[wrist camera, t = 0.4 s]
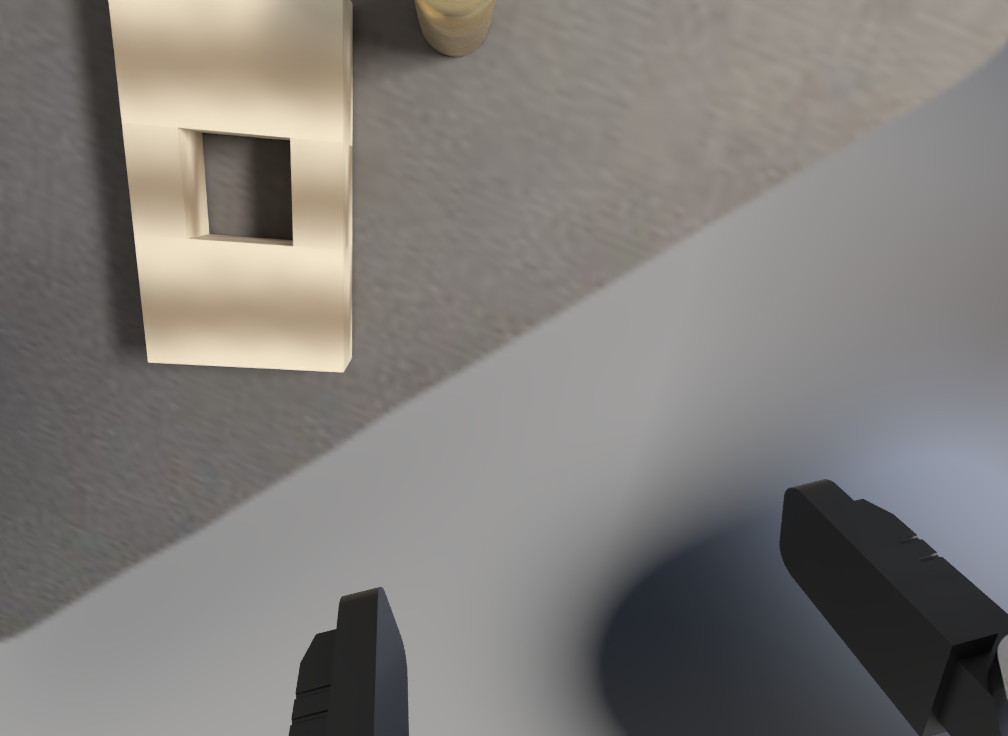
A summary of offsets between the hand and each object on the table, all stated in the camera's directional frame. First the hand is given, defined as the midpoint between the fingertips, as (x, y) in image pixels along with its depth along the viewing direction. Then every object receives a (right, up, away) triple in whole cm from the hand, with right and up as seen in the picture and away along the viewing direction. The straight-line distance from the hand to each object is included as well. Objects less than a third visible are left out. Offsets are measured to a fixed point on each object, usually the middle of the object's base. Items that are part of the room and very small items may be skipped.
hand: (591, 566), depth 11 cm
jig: (-16, +14, +22) cm, 31 cm away
